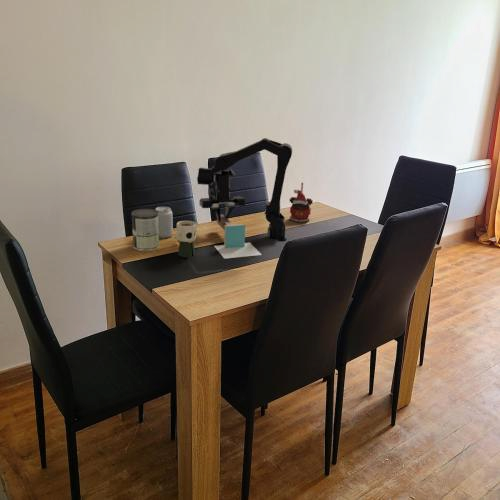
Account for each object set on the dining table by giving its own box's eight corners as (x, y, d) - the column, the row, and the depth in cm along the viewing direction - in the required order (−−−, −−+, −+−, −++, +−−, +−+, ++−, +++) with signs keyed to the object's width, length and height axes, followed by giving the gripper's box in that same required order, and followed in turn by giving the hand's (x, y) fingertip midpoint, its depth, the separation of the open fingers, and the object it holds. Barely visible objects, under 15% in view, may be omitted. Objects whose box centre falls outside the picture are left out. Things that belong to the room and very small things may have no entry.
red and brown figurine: (312, 218, 243) (315, 181, 237) (309, 223, 235) (312, 185, 228) (290, 216, 246) (292, 179, 239) (287, 221, 237) (289, 183, 231)
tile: (243, 245, 203) (243, 223, 200) (244, 246, 201) (245, 224, 198) (224, 247, 200) (224, 225, 197) (225, 248, 199) (225, 226, 196)
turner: (222, 222, 218) (222, 214, 217) (233, 233, 204) (234, 225, 203) (217, 222, 217) (217, 214, 216) (228, 234, 203) (228, 226, 202)
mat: (249, 244, 206) (249, 242, 206) (261, 256, 194) (261, 254, 194) (214, 247, 201) (214, 245, 201) (224, 260, 189) (224, 258, 189)
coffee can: (127, 247, 199) (125, 212, 194) (146, 240, 207) (145, 207, 202) (145, 253, 193) (144, 218, 188) (165, 246, 201) (164, 212, 196)
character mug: (184, 262, 186) (183, 228, 181) (169, 257, 190) (168, 224, 185) (203, 254, 194) (203, 221, 190) (189, 250, 198) (188, 218, 193)
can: (169, 239, 209) (168, 211, 204) (152, 237, 210) (151, 210, 206) (175, 233, 215) (174, 206, 211) (158, 232, 217) (157, 205, 212)
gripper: (238, 180, 218) (237, 214, 224) (196, 182, 212) (196, 217, 218) (246, 186, 209) (245, 222, 214) (202, 188, 203) (202, 225, 208)
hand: (222, 221), depth 214 cm, fingers closed on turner, 2 cm apart
